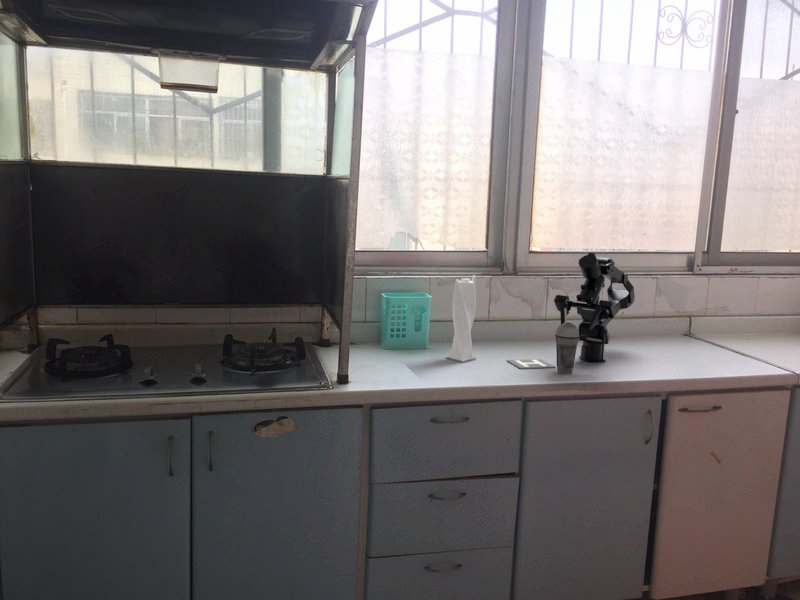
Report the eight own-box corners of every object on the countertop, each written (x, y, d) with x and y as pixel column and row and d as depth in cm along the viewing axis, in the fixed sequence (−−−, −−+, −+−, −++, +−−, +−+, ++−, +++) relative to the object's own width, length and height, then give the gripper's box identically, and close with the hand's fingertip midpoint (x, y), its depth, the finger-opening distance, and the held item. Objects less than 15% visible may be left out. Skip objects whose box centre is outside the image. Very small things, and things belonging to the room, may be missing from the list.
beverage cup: (577, 376, 206) (582, 311, 203) (552, 374, 208) (557, 309, 205) (576, 370, 214) (581, 307, 210) (552, 368, 215) (556, 305, 212)
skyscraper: (479, 360, 223) (484, 274, 219) (464, 364, 217) (469, 276, 213) (459, 355, 228) (463, 271, 224) (443, 359, 223) (448, 273, 218)
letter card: (540, 360, 226) (540, 358, 226) (555, 367, 216) (555, 366, 216) (506, 361, 223) (506, 360, 223) (520, 369, 213) (520, 367, 213)
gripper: (624, 308, 221) (609, 347, 213) (569, 301, 231) (553, 337, 224) (618, 285, 213) (602, 325, 206) (562, 279, 224) (545, 316, 217)
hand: (575, 327), depth 213 cm, fingers open, 9 cm apart
